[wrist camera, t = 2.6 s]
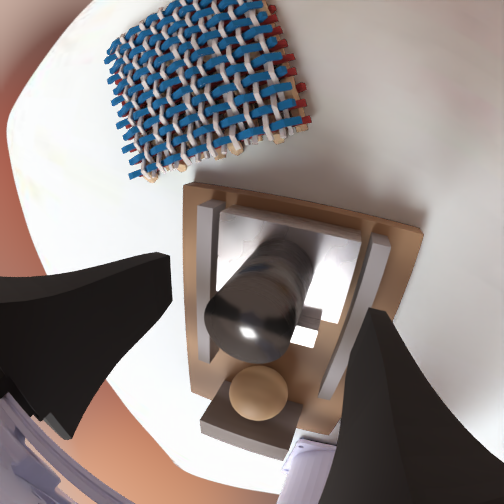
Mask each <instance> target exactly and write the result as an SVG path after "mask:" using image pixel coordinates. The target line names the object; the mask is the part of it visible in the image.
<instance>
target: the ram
mask: <svg viewBox="0 0 504 504" xmlns="http://www.w3.org/2000/svg"><path fill="white" fill-rule="evenodd" d="M360 246H361V231H359V230H355V229H351V228H346V227H342V226H338V225H333V224H329V223H324V222H320V221H315V220H311V219H306V218H301V217H296V216H292V215H287V214H282V213H277V212H272V211H267V210H262V209H257V208H252V207H246V206H241V205H235V204H233V205H231V206H230V207H228V208H226V209H224V210H223V211H221V212H220V220H219V239H218V260H217V286H216V291H218V292H217V293H216V294H215V295H214V296H213V297H212V299H211V300H210V301H209V302H208V304H207V306H206V308H205V312H204V322H205V326H206V329H207V332H208V334H209V335H210V337H211V339H212V340H213V341H214V343H215V344H216V345H217V346H218V347H219V348H220V349H221V350H223V351H224V352H225V353H227V354H228V355H230V356H232V357H234V358H236V359H238V360H241V361H244V362H247V363H254V364H264V363H269V362H272V361H275V360H277V359H279V358H280V357H281V356H282V355H284V353H285V352H286V351H287V349H288V347H289V344H290V342H293V343H296V344H300V345H304V346H308V347H312V348H313V345H314V342H315V339H316V336H317V333H318V329H319V325H320V321H321V320H325V321H329V322H333V323H337V324H338V321H339V318H340V315H341V312H342V309H343V305H344V302H345V299H346V296H347V293H348V289H349V286H350V283H351V279H352V276H353V272H354V269H355V265H356V262H357V258H358V254H359V250H360Z"/></svg>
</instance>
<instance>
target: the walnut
mask: <svg viewBox="0 0 504 504" xmlns="http://www.w3.org/2000/svg"><path fill="white" fill-rule="evenodd" d="M229 398H230V401H231V404H232V406H233V408H234V409H235V410H236V411H237V412H238V413H239V414H240V415H241V416H243V417H245V418H247V419H250V420H255V421H262V420H267V419H270V418H272V417H274V416H276V415H277V414H278V413H279V412H280V411H281V410H282V409H283V408H284V406H285V404H286V402H287V398H288V388H287V384H286V382H285V380H284V378H283V377H282V376H281V375H280V374H279V373H278V372H277V371H276V370H274V369H272V368H270V367H267V366H260V365H258V366H251V367H248V368H245V369H243V370H242V371H240V372H239V373H238V374H237V375H236V376H235V377H234V379H233V380H232V383H231V385H230V389H229Z"/></svg>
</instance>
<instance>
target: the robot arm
mask: <svg viewBox="0 0 504 504" xmlns="http://www.w3.org/2000/svg"><path fill="white" fill-rule="evenodd" d="M172 301H173V300H172V286H171V268H170V256H169V255H166V254H162V253H159V252H154V253H147V254H142V255H138V256H134V257H130V258H126V259H122V260H119V261H115V262H111V263H107V264H104V265H99V266H95V267H91V268H87V269H83V270H78V271H73V272H68V273H62V274H55V275H46V276H34V277H0V504H78V503H76V502H75V501H74V500H72V499H71V498H70V497H69V496H68V495H66V494H65V493H64V492H63V491H62V490H60V489H59V488H58V487H57V485H58V484H59V483H60V482H61V480H60V478H59V477H58V476H57V475H56V473H55V472H54V471H53V470H52V469H51V468H50V467H48V465H46V463H44V462H43V461H42V460H41V459H40V458H39V457H38V456H37V455H36V454H35V453H34V452H33V451H32V450H31V449H29V448H28V447H27V446H26V445H25V437H26V438H27V439H28V441H29V442H30V443H31V444H32V445H33V446H34V447H35V448H36V450H38V452H39V453H40V454H41V455H42V456H43V457H44V458H45V459H46V460H47V461H48V462H49V463H50V464H51V465H52V466H53V467H54V468H55V469H56V470H58V471H59V472H60V473H61V474H62V475H63V476H64V477H65V478H66V479H68V480H69V481H70V482H71V483H72V484H73V485H75V486H76V487H77V488H78V489H79V490H81V491H82V492H83V493H84V494H86V495H87V496H88V497H90V498H91V499H92V500H93V501H95V502H96V503H97V504H135V503H133V502H132V501H130V500H128V499H127V498H125V497H124V496H122V495H120V494H119V493H117V492H116V491H114V490H113V489H111V488H110V487H109V486H107V485H106V484H104V483H103V482H102V481H100V480H99V479H97V478H96V477H95V476H93V475H92V474H91V473H89V472H88V471H87V470H86V469H84V468H83V467H82V466H81V465H80V464H78V463H77V462H76V461H75V460H74V459H72V458H71V457H70V456H69V455H68V454H67V453H65V452H64V451H63V450H62V449H61V448H60V447H59V446H58V445H57V444H56V443H55V442H53V440H51V439H50V438H49V437H48V436H47V435H46V434H45V433H44V432H43V431H42V430H41V429H40V427H38V425H37V424H36V423H35V422H34V421H33V420H32V419H31V418H30V417H31V416H32V415H34V416H35V417H36V418H37V419H38V420H39V421H42V420H44V421H45V422H46V423H47V424H48V425H49V426H50V427H51V428H52V429H53V430H54V431H55V432H56V433H57V434H58V435H59V436H60V437H62V438H63V439H65V440H69V439H72V437H73V435H74V433H75V431H76V428H77V426H78V424H79V422H80V420H81V418H82V416H83V414H84V413H85V411H86V409H87V407H88V405H89V404H90V402H91V400H92V398H93V397H94V395H95V394H96V392H97V391H98V389H99V388H100V386H101V385H102V383H103V382H104V380H105V379H106V378H107V376H108V375H109V374H110V372H111V371H112V370H113V368H114V367H115V366H116V364H117V363H118V362H119V361H120V360H121V358H122V357H123V356H124V355H125V354H126V353H127V352H128V351H129V350H130V349H131V348H132V347H133V346H134V345H135V344H136V343H137V342H138V341H139V340H140V339H141V338H142V337H143V336H144V335H145V334H146V333H147V332H148V331H149V330H150V328H151V327H152V326H153V325H154V324H155V323H156V322H157V321H158V320H159V319H160V318H161V316H162V315H163V314H164V312H165V311H166V309H167V308H168V307H169V305H170V304H171V302H172ZM281 472H282V473H284V474H287V477H286V480H285V482H284V485H283V488H282V490H281V493H280V496H279V498H278V501H277V503H276V504H504V463H503V462H502V461H501V460H499V459H498V458H497V457H496V456H494V455H493V454H492V453H491V452H489V451H488V450H487V449H486V448H485V447H484V446H483V445H482V444H481V443H480V442H479V441H478V440H477V439H476V438H474V436H473V435H472V434H471V433H470V432H469V431H468V430H467V429H466V428H465V427H464V426H463V425H462V424H461V423H460V421H459V420H458V419H457V418H456V417H455V416H454V415H453V414H452V412H451V411H450V410H449V409H448V408H447V406H446V405H445V404H444V403H443V401H442V400H441V399H440V397H439V396H438V395H437V393H436V392H435V391H434V389H433V388H432V386H431V385H430V384H429V382H428V381H427V379H426V378H425V376H424V375H423V373H422V372H421V370H420V368H419V367H418V365H417V364H416V362H415V361H414V359H413V357H412V356H411V354H410V352H409V351H408V349H407V347H406V345H405V344H404V342H403V340H402V338H401V337H400V335H399V333H398V331H397V330H396V328H395V326H394V324H393V323H392V321H391V319H390V317H389V316H388V314H387V312H386V311H383V310H378V309H374V308H370V307H368V310H367V312H366V315H365V318H364V320H363V323H362V325H361V328H360V330H359V333H358V335H357V338H356V340H355V343H354V345H353V347H352V350H351V352H350V356H349V361H348V366H347V371H346V377H345V385H344V396H343V406H342V415H341V424H340V431H339V438H338V443H337V446H333V445H328V444H323V443H318V442H314V441H309V440H305V439H300V440H298V442H297V443H296V445H295V447H294V449H293V451H292V452H291V454H290V456H289V458H288V459H287V461H286V463H285V464H284V466H283V468H282V469H281Z"/></svg>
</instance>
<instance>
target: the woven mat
mask: <svg viewBox="0 0 504 504" xmlns="http://www.w3.org/2000/svg"><path fill="white" fill-rule="evenodd" d="M226 7H227V8H226ZM225 8H226V9H225ZM224 9H225V10H224ZM162 10H163V7H162V8H159V10H158V13H155V14H154V13H153V14H151V15H150V16H148V17H147V19H146V21H145V23H144V20H142V21H140V23H139V25H138V26H136V27H133V28H131V29H129V31H128V32H127V34H126V35H125V33H124V34H122V35H121V36H120V38H119V37H118V38H117V39H115V41H113V42H112V44H111V47H110V48H109V49H108V50H107V54H108V55H110V56H108V57H106V59H105V60H104V63H105V64H109V63H110V62H111V61H113V60H115V59H116V61H115V63H114V65H113V67H112V68H110V69H109V70H110V73H111V74H114V73H115V75H113V76H111V77H109V78H108V79H107V82H108V84H112V83H113V82H114V81H115V84H116V85H118V86H117V88H115V89H114V90H113V93H114V95H121V96H118V97H116V98H114V99H113V100H112V101H111V103H112V106H115V105H117V104H118V103H120V102H122V106H123V107H122V109H121V110H120V111H118V112H117V113H118V116H119V117H126V116H128V115H129V116H128V118H127V119H124V120H122V121H120V122H118V123H117V124H116V127H117V129H121V128H122V127H124V126H126V129H128V128H130V127H132V126H133V127H132V128H131V129H129V130H128V132H127V133H126V134H124V135H123V139H124V140H125V141H126V140H132V139H133V138H134V143H131V144H129V145H127V146H124V147H123V148H122V152H123V154H124V153H127V152H128V151H130V153H131V152H134V151H136V150H138V151H139V153H140V154H138V155H136V156H134V157H133V158H132V159H130V160H129V163H130V165H135V164H139V163H141V162H142V165H141V169H140V170H137V171H134V172H132V173H129V174H128V175H129V178H130V180H131V179H133V178H136V177H138V176H139V177H142V176H143V177H144V178H145V179H146V180H148V181H149V182H150V183H154V182H155V181H156V180H157V179H158V174H157V173H156V172H157V171H158V170H160V171H161V172H162V173H163V174H165V173H166V172H165V170H164V167H166V169H167V171H169V170H170V171H172V170H173V169H175V170H176V169H177V170H179V171H180V172H183V171H186V169H187V166H189V165H191V164H192V163H191V161H190V160H189V158H191V157H194V156H195V159H196V162H197V163H199V162H201V159H203V158H205V159H207V158H210V154H209V152H210V153H211V155H212V156H213V157H214V158H215V160H219V159H222V158H225V157H226V155H225V154H226V153H227V147H228V149H229V150H230V151H231V153H232V154H235V155H237V156H238V155H239V154H241V153H242V152H243V151H244V150H243V146H242V144H241V142H243V141H244V142H245V145H250V144H251V142H250V140H249V139H252V144H258V141H262V140H263V139H262V135H264V134H266V136H267V138H268V140H269V141H274V143H275V144H276V145H277V144H280V143H283V142H284V138H286V137H287V136H286V129H288V133H289V136H290V135H294V132H293V128H292V127H295V128H296V131H297V132H301V131H305V130H308V127H307V124H308V123H312V121H311V118H310V116H305V113H304V109H303V107H306V106H307V104H306V100H305V99H300V98H299V95H298V93H300V92H302V91H305V90H307V88H306V85H305V83H299V84H297V85H295V80H294V77H293V76H294V75H297V71H296V68H295V67H293V68H290V66H289V63H288V61H292V60H295V57H294V54H293V53H292V54H285V51H284V48H285V47H288V44H287V41H286V40H285V39H283V40H280V37H279V34H282V33H283V31H282V29H281V27H280V26H278V27H276V26H275V23H274V22H277V21H278V18H277V16H276V14H273V13H274V12H275V11H276V10H277V9H276V7H275V6H273V5H270V6H269V7H268V5H267V3H266V1H265V0H174V1H173V2H172V3H170V4H169V5H168V6H167V8H166V10H165V11H162ZM271 14H273V15H271ZM152 21H153V22H152ZM135 33H136V35H135ZM241 33H242V34H241ZM124 36H125V37H124ZM266 38H267V40H266V41H265V39H266ZM218 42H219V43H218ZM242 62H244V63H242ZM120 65H121V66H120ZM275 65H276V69H275V70H274V67H273V66H275ZM228 66H229V67H228ZM225 67H227V68H226V69H225ZM208 74H212V75H209V76H208ZM247 74H249V75H248V76H247V77H246V75H247ZM172 77H174V78H172ZM170 78H171V79H170ZM230 80H233V83H230ZM279 80H280V81H281V83H280V82H279ZM190 82H191V84H190V85H188V84H189V83H190ZM139 83H141V84H139ZM214 87H215V88H216V89H214V90H213V91H211V90H212V89H213V88H214ZM176 89H177V90H176ZM175 90H176V91H175ZM252 90H253V93H250V92H249V91H252ZM259 90H260V91H259ZM174 91H175V92H174ZM210 91H211V92H210ZM173 92H174V93H173ZM172 93H173V94H172ZM122 94H123V95H122ZM234 96H236V97H235V98H234ZM192 97H193V98H192ZM191 98H192V99H191ZM277 98H279V100H280V102H278V103H277ZM217 100H219V103H220V104H217V105H216V103H215V101H217ZM178 102H181V104H179V105H176V103H178ZM254 103H258V105H259V107H258V108H256V109H255V107H254ZM146 105H147V108H144V109H142V107H144V106H146ZM241 107H242V108H243V111H244V113H243V114H240V113H239V111H238V108H241ZM197 108H198V113H197V112H196V110H195V109H197ZM164 109H165V113H164ZM289 110H290V112H291V115H292V117H291V118H290V115H289ZM159 112H160V113H159ZM281 112H283V114H284V118H285V119H282V117H281V115H280V113H281ZM183 114H184V118H183V119H181V120H180V121H178V117H179V116H181V115H183ZM221 114H223V117H224V119H223V120H222V121H220V122H219V115H221ZM150 116H151V118H149V119H147V120H146V121H144V119H146V118H148V117H150ZM259 118H262V120H263V126H259V123H258V119H259ZM201 122H202V123H203V125H204V126H202V125H201ZM246 122H247V125H248V129H245V126H244V123H246ZM162 124H163V125H164V126H163V125H162ZM238 125H239V126H238ZM239 128H240V131H241V132H239ZM183 129H184V133H183V132H182V130H183ZM224 129H225V132H224V134H223V132H222V130H224ZM149 130H151V131H150V134H149V135H148V133H147V131H149ZM171 136H172V140H171ZM206 136H207V143H206V139H205V137H206ZM139 137H140V138H139ZM166 138H167V140H166V142H165V140H164V139H166ZM199 140H200V141H199ZM186 144H187V146H188V147H189V148H190V149H189V150H187V151H186ZM151 145H152V146H153V148H152V149H151ZM174 148H175V149H174ZM170 152H171V154H172V155H171V154H170ZM154 156H157V160H156V162H154V161H155V159H154ZM161 158H162V161H161ZM173 164H174V167H173Z"/></svg>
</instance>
